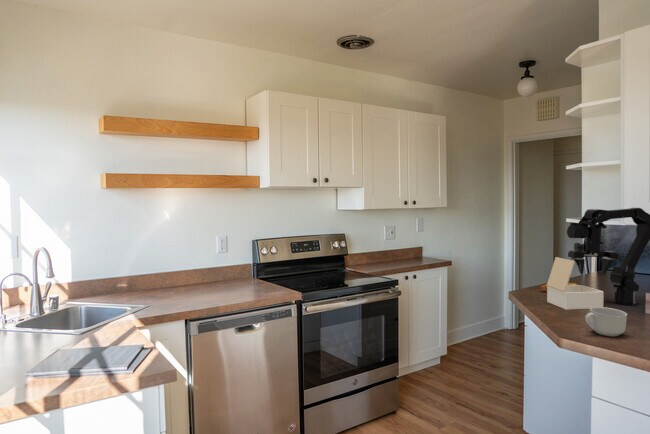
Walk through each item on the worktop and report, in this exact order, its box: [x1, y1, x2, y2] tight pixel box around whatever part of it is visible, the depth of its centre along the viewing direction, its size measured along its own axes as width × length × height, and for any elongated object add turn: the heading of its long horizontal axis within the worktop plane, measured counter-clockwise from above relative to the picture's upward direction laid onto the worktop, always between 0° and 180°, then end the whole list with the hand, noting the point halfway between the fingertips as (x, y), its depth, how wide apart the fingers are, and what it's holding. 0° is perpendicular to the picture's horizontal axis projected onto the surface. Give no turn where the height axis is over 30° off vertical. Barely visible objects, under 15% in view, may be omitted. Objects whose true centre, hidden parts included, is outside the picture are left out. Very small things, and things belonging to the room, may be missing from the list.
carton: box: [546, 284, 604, 311], centre depth 193 cm, size 16×15×7 cm
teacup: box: [584, 306, 628, 337], centre depth 152 cm, size 14×11×8 cm
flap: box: [547, 256, 576, 291], centre depth 192 cm, size 13×13×1 cm
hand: (592, 274), depth 193 cm, fingers open, 9 cm apart
